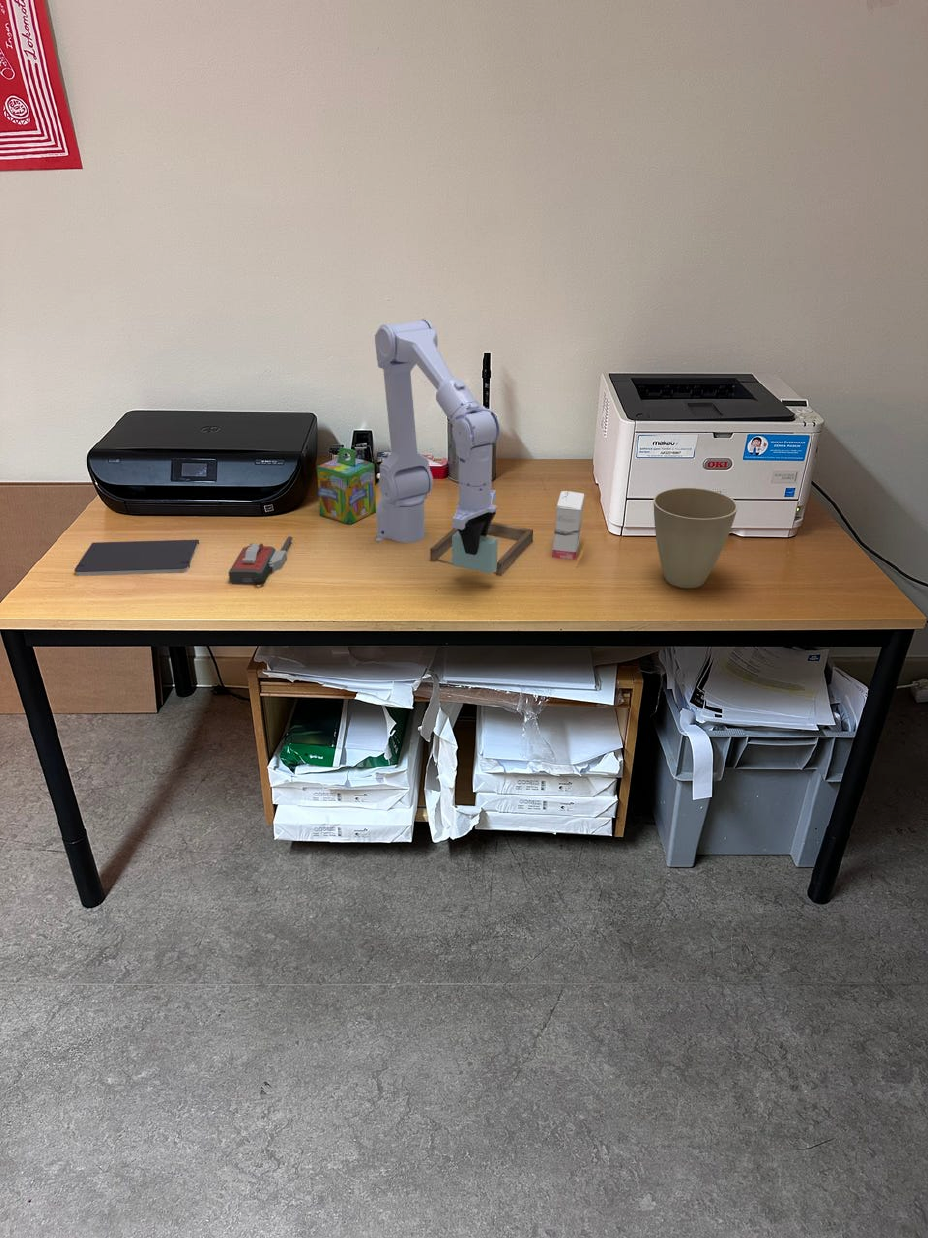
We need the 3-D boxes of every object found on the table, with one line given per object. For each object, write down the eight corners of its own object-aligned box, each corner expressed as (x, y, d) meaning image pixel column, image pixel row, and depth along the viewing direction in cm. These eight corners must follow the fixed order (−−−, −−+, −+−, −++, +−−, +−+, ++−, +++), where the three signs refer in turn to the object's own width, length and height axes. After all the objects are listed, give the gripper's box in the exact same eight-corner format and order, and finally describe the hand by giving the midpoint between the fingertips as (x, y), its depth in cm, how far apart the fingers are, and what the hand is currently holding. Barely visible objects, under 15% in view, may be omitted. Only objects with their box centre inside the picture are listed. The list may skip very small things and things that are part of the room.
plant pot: (702, 558, 172) (714, 484, 164) (737, 594, 160) (753, 515, 151) (632, 565, 169) (641, 490, 161) (662, 602, 157) (674, 522, 149)
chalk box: (319, 515, 189) (313, 451, 182) (346, 502, 196) (342, 439, 188) (350, 526, 185) (346, 460, 177) (378, 511, 191) (374, 448, 184)
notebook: (199, 546, 177) (93, 549, 176) (198, 539, 176) (92, 542, 175) (187, 574, 166) (74, 578, 165) (186, 567, 165) (72, 571, 164)
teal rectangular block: (452, 565, 160) (452, 535, 157) (457, 559, 162) (457, 530, 158) (491, 573, 157) (492, 543, 154) (496, 568, 159) (497, 538, 156)
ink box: (576, 564, 170) (581, 508, 164) (551, 561, 171) (554, 506, 165) (580, 545, 177) (584, 491, 171) (556, 543, 178) (559, 489, 172)
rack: (430, 564, 169) (430, 548, 167) (466, 532, 182) (466, 516, 181) (500, 580, 164) (501, 563, 162) (532, 545, 177) (533, 529, 175)
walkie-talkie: (273, 590, 161) (296, 543, 178) (270, 569, 159) (294, 524, 176) (226, 588, 161) (254, 542, 178) (223, 567, 159) (251, 523, 176)
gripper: (479, 498, 143) (478, 571, 150) (512, 470, 155) (509, 538, 162) (441, 491, 146) (442, 563, 153) (476, 464, 157) (475, 531, 164)
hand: (474, 550), depth 157 cm, fingers closed on teal rectangular block, 2 cm apart
